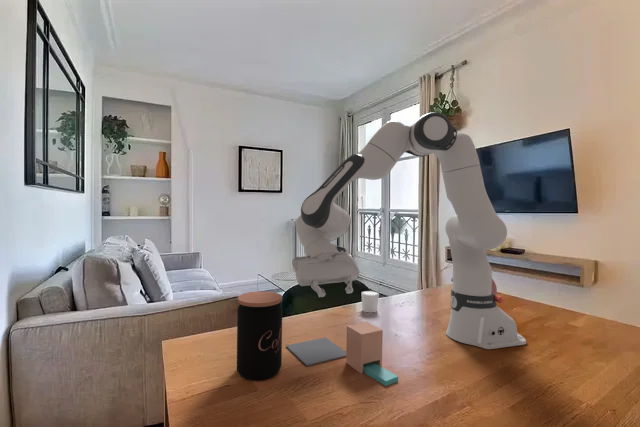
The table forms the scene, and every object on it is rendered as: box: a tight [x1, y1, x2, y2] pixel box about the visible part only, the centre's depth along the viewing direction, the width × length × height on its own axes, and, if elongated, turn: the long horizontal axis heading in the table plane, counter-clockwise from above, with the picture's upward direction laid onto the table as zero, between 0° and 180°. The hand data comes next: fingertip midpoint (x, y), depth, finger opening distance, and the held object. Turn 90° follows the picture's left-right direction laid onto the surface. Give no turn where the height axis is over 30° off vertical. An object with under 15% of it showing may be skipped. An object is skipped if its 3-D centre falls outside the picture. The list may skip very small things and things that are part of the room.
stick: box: [363, 362, 399, 387], centre depth 80 cm, size 4×12×2 cm, turn 35°
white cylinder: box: [360, 290, 380, 313], centre depth 128 cm, size 7×7×7 cm
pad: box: [285, 337, 346, 367], centre depth 91 cm, size 13×13×1 cm
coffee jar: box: [236, 291, 283, 382], centre depth 79 cm, size 11×11×18 cm
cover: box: [345, 321, 384, 375], centre depth 83 cm, size 6×6×10 cm
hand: (336, 294), depth 95 cm, fingers open, 8 cm apart
